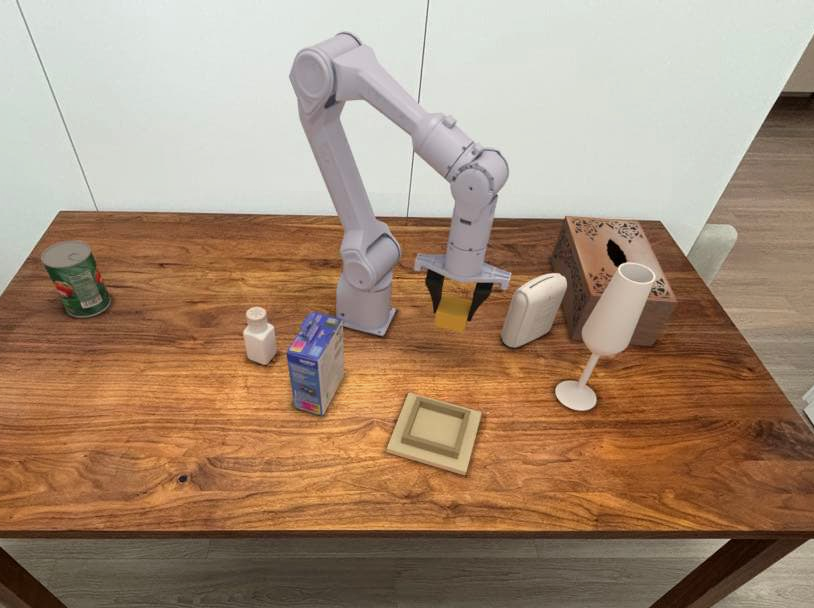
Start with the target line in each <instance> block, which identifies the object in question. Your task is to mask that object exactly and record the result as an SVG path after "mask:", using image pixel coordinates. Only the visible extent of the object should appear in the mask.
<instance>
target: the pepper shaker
mask: <svg viewBox="0 0 814 608" xmlns="http://www.w3.org/2000/svg"><path fill="white" fill-rule="evenodd" d="M245 317H246V322H247V326H246V327H245V328H244V330H243V334H242V335H243V340H244V341H243V342H244V346H245V353H246V357H247V359H249V361H252V362H255V363H258V364H261V365H263V366H265V365H266V366H267V365H268V364H270V362H271V360H272V359H273V358H274V357H275V356H276V354H277V353H278V347H277V338H276V330H275V329H276V328H275V326H274V325H273V324H271V323H269V322H268V321H269V320H268V315H267V311H266V309H265V308H263V307H261V306H253V307H250V308H249V309H247V310H246V312H245Z"/></svg>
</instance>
